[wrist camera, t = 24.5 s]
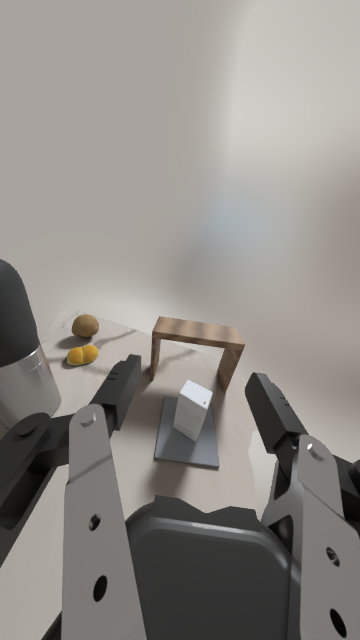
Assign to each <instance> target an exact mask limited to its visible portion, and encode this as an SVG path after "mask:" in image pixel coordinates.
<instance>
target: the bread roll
mask: <svg viewBox="0 0 360 640" xmlns="http://www.w3.org/2000/svg"><path fill="white" fill-rule="evenodd" d="M98 354H99V352H98V349H97V348H96V347H95V346H91V345H86V346H83V347H82V348H81V347H75V348H73V349H71V350H70V351H69V353H68V355H67V363H68V364H70V365H75V366H77V365H82V364H87V363H91V362H93V361H94V360H95V359H96V358H97V356H98Z"/></svg>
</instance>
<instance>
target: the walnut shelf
mask: <svg viewBox="0 0 360 640" xmlns="http://www.w3.org/2000/svg"><path fill="white" fill-rule="evenodd" d="M161 339H164V340H172V341H179V342H185V343H192V344H199V345H206V346H213V347H220V348H225V350H224V352H223V355H222V359H221V361H220V364H219V367H218V372H219V376H220V380H221V385H222V389H223V391H226V390H227V388H228V385H229V383H230V380H231V378H232V375H233V373H234V371H235V368H236V366H237V363H238V361H239V359H240V356H241V354H242V351H243V349H244V346H245V344H244V342H243V340H242V338H241V336H240V335H239V333H238V331H237V330H236V328H235V327H229V326H222V325H215V324H208V323H201V322H194V321H187V320H181V319H174V318H167V317H159V318H158V320H157V323H156V325H155V327H154V329H153V332H152V351H151V372H150V380H154V376H155V373H156V369H157V366H158V362H159V353H160V341H161Z"/></svg>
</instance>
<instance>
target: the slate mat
mask: <svg viewBox="0 0 360 640" xmlns="http://www.w3.org/2000/svg"><path fill="white" fill-rule="evenodd" d="M177 402H178V398H174V397H167V396H165V399H164V405H163V411H162V417H161V422H160V428H159V434H158V440H157V446H156V451H155V458H156V459H163V460H170V461H177V462H184V463H191V464H198V465H204V466H211V467H218V468H219V467H220V465H219V458H218V451H217V443H216V436H215V428H214V421H213V413H212V406H211V403H210V404H209V407H208V410H207V413H206V416H205V419H204V422H203V425H202V428H201V431H200V433H199V436H198V438H197V441H196V442H195V441H193V440H192V439H190V438H189V437H187V436H186V435H185V434H183V433H182V432H180V431H179V430H177V429H176V428H174V427H173V424H174V419H175V413H176V408H177Z"/></svg>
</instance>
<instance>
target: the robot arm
mask: <svg viewBox="0 0 360 640" xmlns="http://www.w3.org/2000/svg"><path fill="white" fill-rule="evenodd" d="M140 375H141V356H140V355H133V354H130V355H129V356H128V358H127V360H126V361H120V362H118V363H117V364H116V365H114V367H113V368H112V370H111V371H110V374H108V376H107V378H106V379H105V381H104V382H103V384H102V385H101V387H100V388H99V390H98V391H97V393H96V394H95V396H94V397H93V399H92V400H91V402H90V403H89V404H88V405H87V406H84V407H83V408H81V409H80V410H78V411H77V412H76V413H74V414H71V415H66V416H61V417H55V418H50V417H51V416H52V415H53V414H54V413H55V411H56V410H57V409H58V407H59V405H60V403H61V396H60V393H59V391H58V388H57V385H56V383H55V380H54V377H53V375H52V372H51V370H50V367H49V365H48V362H47V359H46V357H45V354H44V352H43V349H42V347H41V344H40V341H39V339H38V335H37V329H36V323H35V320H34V317H33V314H32V311H31V307H30V304H29V300H28V297H27V293H26V290H25V287H24V284H23V282H22V279H21V277H20V276H19V274H18V273H17V271H16V270H15V269H14V268H13V267H12V266H11V265H10V264H9V263H7V262H5V261H4V260H1V259H0V418H1V420H2V421H3V422H4V424H5V425H6V426H7V428H9V429H10V430H9V431H8V432H7V433H6V434H5V436H4V437H3V438H2V439H1V440H0V568H1V566H2V564H3V562H4V560H5V559H6V557H7V555H8V553H9V552H10V550H11V548H12V546H13V544H14V543H15V541H16V539H17V537H18V536H19V534H20V532H21V530H22V528H23V527H24V525H25V523H26V521H27V520H28V518H29V516H30V514H31V513H32V511H33V509H34V507H35V505H36V504H37V502H38V500H39V498H40V497H41V495H42V493H43V491H44V489H45V488H46V486H47V484H48V482H49V481H50V479H51V477H52V475H53V473H54V472H55V470H56V468H57V467H58V466H62V465H66V464H69V479H68V482H67V484H66V488H65V498H64V541H63V586H62V611H61V612H60V614H59V615H58V616H57V618H56V619H55V621H54V622H53V624H52V625H51V626H50V628H49V629H48V631H47V632H46V634H45V635H44V636H43V638H42V639H41V640H360V460H358V461H356V462H354V463H353V464H352V463H350V462H348V461H346V460H344V459H341V458H339V457H337V456H335V455H333V454H331V452H330V451H329V450H328V449H327V448H326V446H325V445H323V444H322V443H321V442H320V441H319V440H317V439H316V438H314V437H312V436H310V435H309V434H308V433H307V431H306V430H305V428H304V426H303V425H302V423H301V422H300V420H299V419H298V417H297V415H296V414H295V412H294V411H293V409H292V408H291V406H290V405H289V403H288V401H287V400H286V399H285V397H284V395H283V393H282V392H281V390H280V389H279V388H278V387H277V386H275V384H274V383H271V382H270V380H269V378H268V377H267V375H266V374H261V373H252V375H251V377H250V379H249V381H248V383H247V385H246V387H245V395H246V398H247V401H248V404H249V406H250V409H251V412H252V414H253V417H254V419H255V422H256V425H257V427H258V430H259V433H260V435H261V438H262V440H263V443H264V446H265V449H266V451H267V453H270V454H276V456H277V459H278V460H277V461H276V463H275V469H274V475H273V481H272V486H271V492H270V498H269V502H268V504H267V506H266V508H265V510H264V513H263V515H262V519H261V522H260V521H259V520H258V519H257V516H256V512H255V510H253V509H247V508H240V507H233V506H229V507H226V508H223V509H220V510H217V511H213V512H210V513H204V512H202V511H200V510H198V509H197V508H195V507H193V506H191V505H190V504H188V503H186V502H185V501H183V500H181V499H178V498H171V497H164V496H157V495H155V501H154V502H152V503H149V504H146V505H144V506H142V507H141V508H139V509H138V510H137V511H135V512H134V513H133V514H132V515H131V516H130V517H129V518H128V519H127V520H126V521H125V520H124V515H123V510H122V504H121V499H120V494H119V488H118V483H117V478H116V472H115V467H114V462H113V456H112V451H111V446H110V438H111V435H112V433H113V431H114V430H117V431H119V430H120V428H121V425H122V423H123V420H124V418H125V415H126V412H127V410H128V407H129V405H130V402H131V400H132V397H133V395H134V392H135V389H136V387H137V384H138V382H139V379H140Z"/></svg>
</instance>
